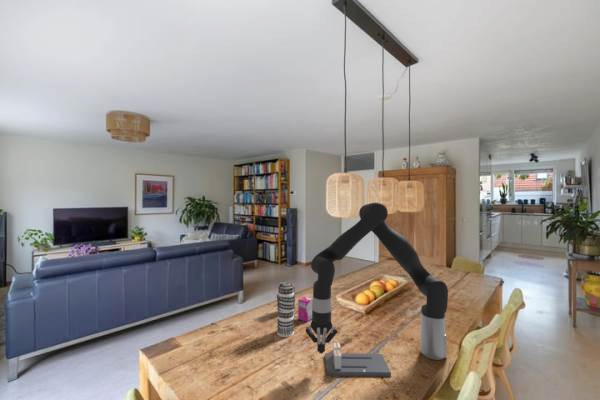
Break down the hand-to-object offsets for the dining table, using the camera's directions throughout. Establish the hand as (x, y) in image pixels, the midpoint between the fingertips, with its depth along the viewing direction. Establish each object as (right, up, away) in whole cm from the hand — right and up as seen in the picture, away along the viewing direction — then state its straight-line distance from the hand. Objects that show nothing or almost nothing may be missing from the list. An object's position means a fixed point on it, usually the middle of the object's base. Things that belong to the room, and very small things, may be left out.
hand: (320, 352), depth 104 cm
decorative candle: (-15, -7, +29) cm, 34 cm away
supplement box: (-5, -7, +44) cm, 45 cm away
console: (+14, -7, +3) cm, 16 cm away
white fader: (+7, -5, +6) cm, 11 cm away
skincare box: (-16, -7, +54) cm, 57 cm away
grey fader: (+6, -5, 0) cm, 8 cm away
